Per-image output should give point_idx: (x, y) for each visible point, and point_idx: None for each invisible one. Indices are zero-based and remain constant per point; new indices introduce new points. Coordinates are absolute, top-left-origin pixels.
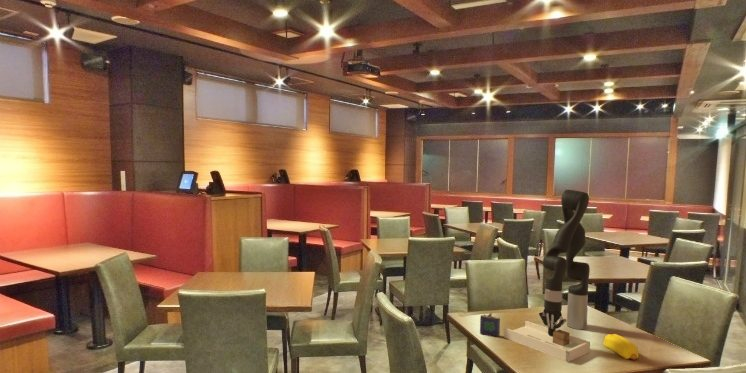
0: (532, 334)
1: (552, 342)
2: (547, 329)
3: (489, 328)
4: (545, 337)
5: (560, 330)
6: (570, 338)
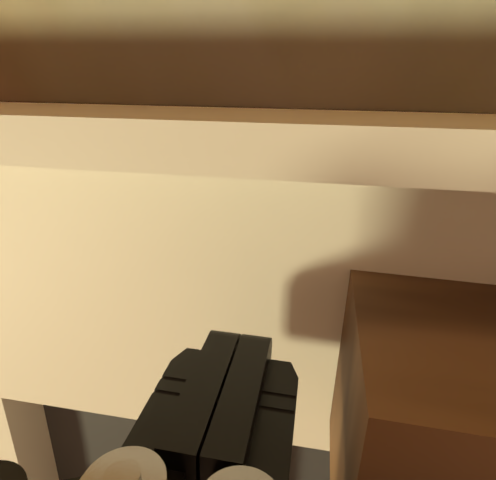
0: (4, 350)
1: (326, 418)
2: (10, 160)
3: None
4: (159, 323)
5: (435, 471)
6: None
